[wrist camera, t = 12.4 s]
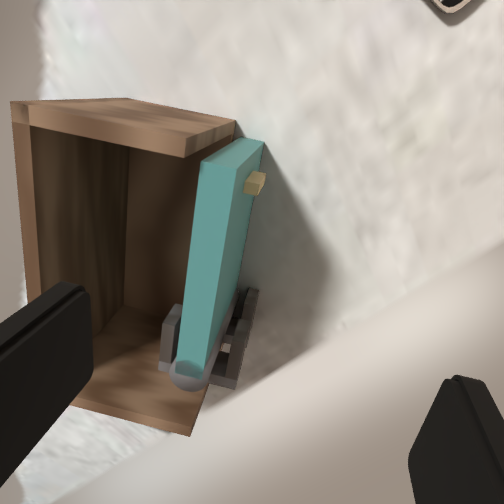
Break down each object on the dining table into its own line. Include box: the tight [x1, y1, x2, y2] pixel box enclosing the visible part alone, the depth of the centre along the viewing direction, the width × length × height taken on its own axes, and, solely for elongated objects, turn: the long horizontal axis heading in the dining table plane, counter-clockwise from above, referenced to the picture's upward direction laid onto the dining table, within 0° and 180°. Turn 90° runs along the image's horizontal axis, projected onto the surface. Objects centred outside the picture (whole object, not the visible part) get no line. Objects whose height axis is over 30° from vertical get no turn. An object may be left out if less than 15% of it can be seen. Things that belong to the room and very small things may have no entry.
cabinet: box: [10, 98, 259, 437], centre depth 29 cm, size 14×21×13 cm
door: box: [169, 137, 266, 392], centre depth 29 cm, size 3×16×12 cm, turn 169°
